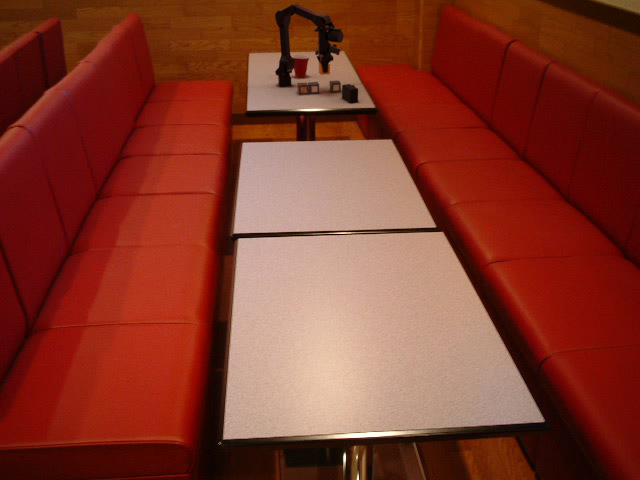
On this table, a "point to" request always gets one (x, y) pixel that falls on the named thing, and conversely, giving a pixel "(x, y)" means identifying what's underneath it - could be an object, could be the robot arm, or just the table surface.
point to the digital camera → (350, 93)
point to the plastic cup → (300, 65)
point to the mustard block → (322, 69)
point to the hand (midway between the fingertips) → (324, 71)
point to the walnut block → (302, 88)
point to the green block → (335, 86)
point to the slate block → (313, 87)
